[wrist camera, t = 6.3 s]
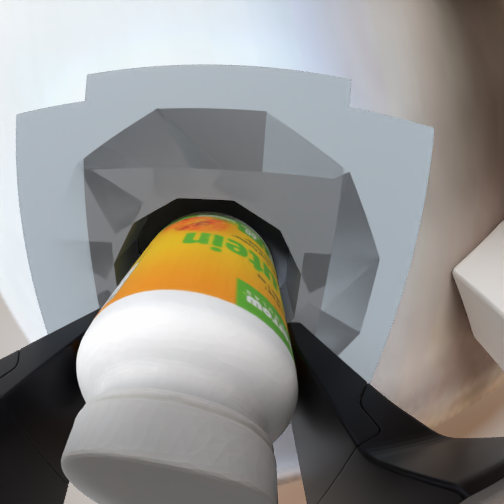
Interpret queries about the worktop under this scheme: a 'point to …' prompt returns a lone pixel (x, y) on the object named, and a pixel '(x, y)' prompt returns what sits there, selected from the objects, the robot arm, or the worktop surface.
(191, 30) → the worktop surface
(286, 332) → the supplement bottle
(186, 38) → the worktop surface
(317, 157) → the socket block
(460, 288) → the medicine bottle
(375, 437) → the robot arm
